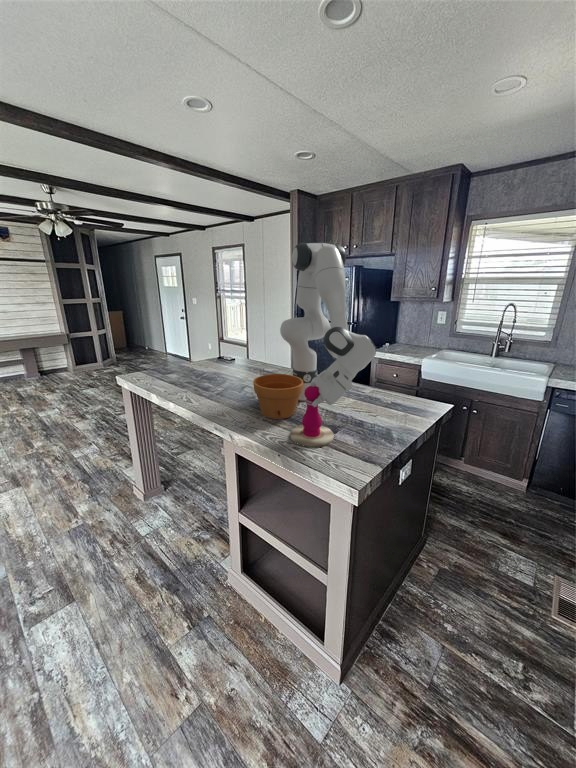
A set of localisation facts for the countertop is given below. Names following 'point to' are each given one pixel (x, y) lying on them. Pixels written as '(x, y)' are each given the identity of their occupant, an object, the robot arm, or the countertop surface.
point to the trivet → (321, 440)
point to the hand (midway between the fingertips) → (310, 401)
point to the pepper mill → (311, 413)
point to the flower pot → (278, 394)
